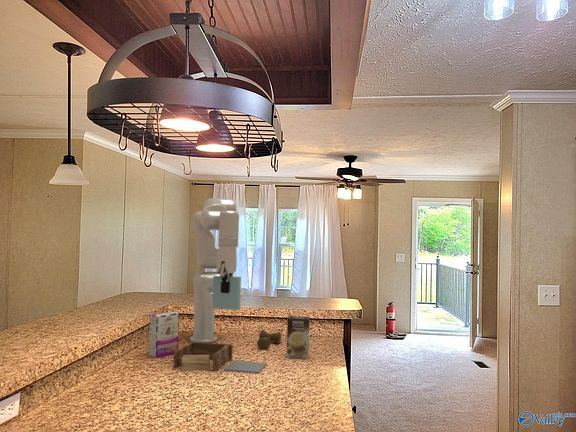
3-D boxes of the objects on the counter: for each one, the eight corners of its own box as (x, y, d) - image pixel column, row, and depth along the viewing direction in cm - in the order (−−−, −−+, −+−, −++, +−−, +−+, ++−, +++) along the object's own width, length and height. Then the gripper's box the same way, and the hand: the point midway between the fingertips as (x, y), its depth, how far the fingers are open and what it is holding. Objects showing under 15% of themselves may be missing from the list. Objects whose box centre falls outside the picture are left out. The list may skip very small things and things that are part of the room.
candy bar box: (170, 351, 191) (172, 311, 192) (178, 353, 188) (180, 312, 189) (148, 356, 182) (149, 314, 183) (155, 358, 179) (157, 316, 180)
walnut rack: (188, 356, 183) (189, 341, 183) (232, 359, 180) (232, 344, 180) (171, 367, 167) (171, 351, 167) (218, 371, 163) (218, 354, 164)
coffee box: (285, 358, 185) (286, 318, 185) (287, 354, 191) (288, 315, 192) (308, 359, 184) (309, 319, 184) (309, 355, 190) (310, 316, 191)
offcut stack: (182, 367, 168) (182, 355, 169) (209, 367, 170) (210, 355, 170) (180, 371, 163) (181, 358, 164) (209, 371, 165) (209, 358, 165)
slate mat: (233, 362, 177) (233, 360, 177) (266, 364, 174) (266, 363, 174) (223, 370, 165) (224, 369, 165) (259, 373, 162) (259, 371, 163)
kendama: (251, 350, 199) (263, 339, 218) (272, 352, 196) (283, 341, 216) (252, 336, 199) (264, 326, 218) (273, 338, 197) (283, 328, 216)
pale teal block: (214, 307, 174) (215, 275, 175) (240, 308, 172) (240, 276, 173) (212, 308, 172) (213, 276, 172) (237, 309, 169) (238, 277, 170)
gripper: (226, 243, 182) (224, 289, 181) (210, 243, 166) (209, 294, 165) (244, 243, 181) (242, 290, 180) (230, 243, 165) (229, 295, 164)
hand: (226, 291), depth 172 cm, fingers closed on pale teal block, 3 cm apart
